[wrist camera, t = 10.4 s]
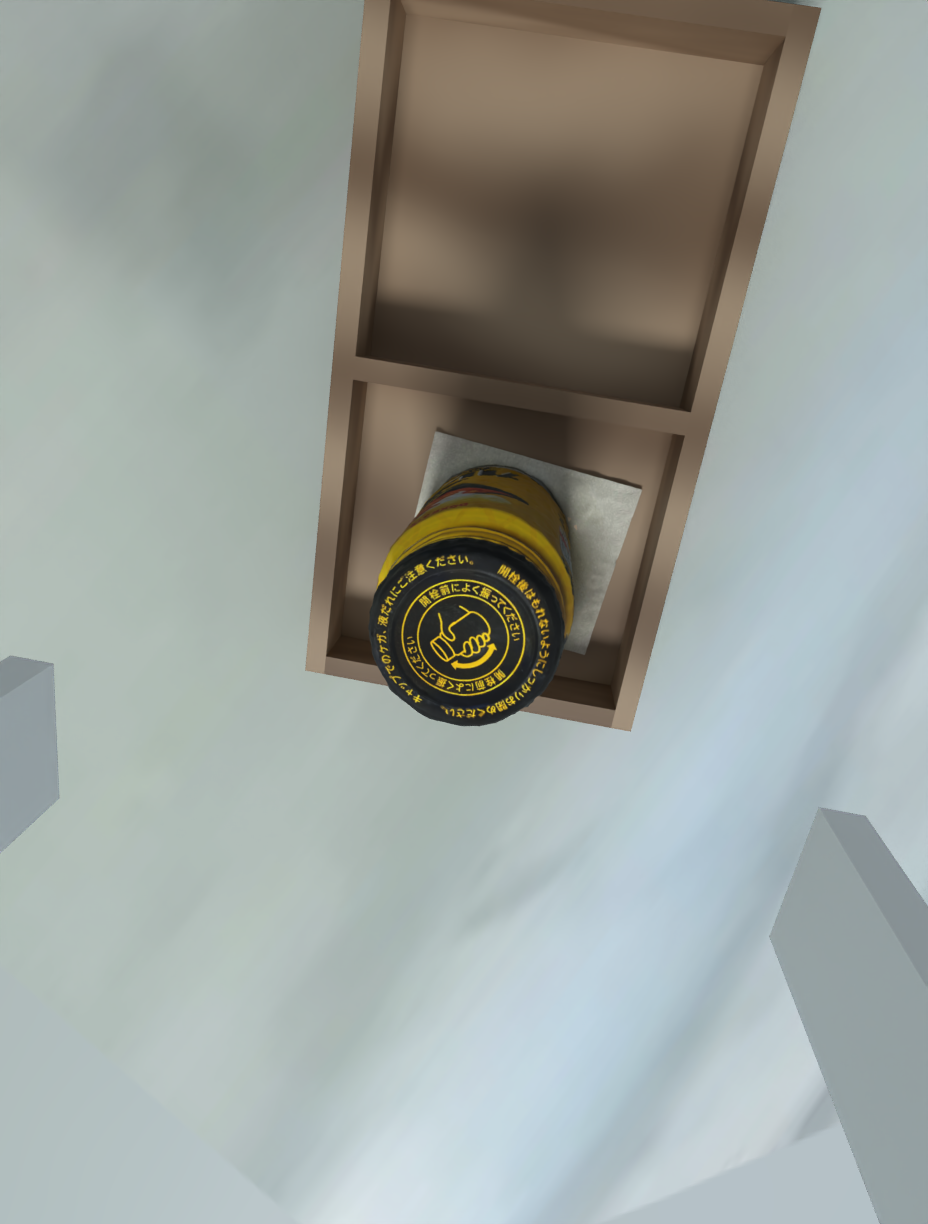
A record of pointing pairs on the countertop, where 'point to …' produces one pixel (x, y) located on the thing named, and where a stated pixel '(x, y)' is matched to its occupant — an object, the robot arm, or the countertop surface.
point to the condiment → (494, 580)
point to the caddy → (546, 278)
